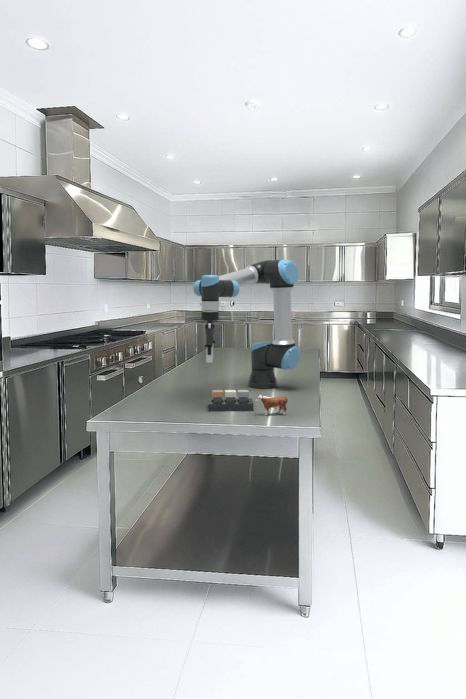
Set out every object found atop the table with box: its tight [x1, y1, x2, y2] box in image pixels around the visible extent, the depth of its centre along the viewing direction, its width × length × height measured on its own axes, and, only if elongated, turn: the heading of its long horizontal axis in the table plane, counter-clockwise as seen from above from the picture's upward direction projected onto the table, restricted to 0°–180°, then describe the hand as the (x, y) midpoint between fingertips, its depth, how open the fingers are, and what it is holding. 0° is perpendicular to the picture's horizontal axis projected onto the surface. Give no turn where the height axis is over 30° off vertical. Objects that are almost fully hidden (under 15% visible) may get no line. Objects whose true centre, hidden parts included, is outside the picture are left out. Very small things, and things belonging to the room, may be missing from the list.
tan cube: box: [211, 389, 224, 402], centre depth 237 cm, size 5×5×5 cm
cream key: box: [224, 389, 237, 402], centre depth 238 cm, size 5×5×5 cm
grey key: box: [237, 389, 250, 402], centre depth 238 cm, size 5×5×5 cm
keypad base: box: [207, 397, 254, 412], centre depth 238 cm, size 19×12×3 cm, turn 92°
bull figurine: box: [254, 394, 288, 416], centre depth 227 cm, size 4×13×8 cm, turn 95°
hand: (209, 360), depth 240 cm, fingers open, 13 cm apart
